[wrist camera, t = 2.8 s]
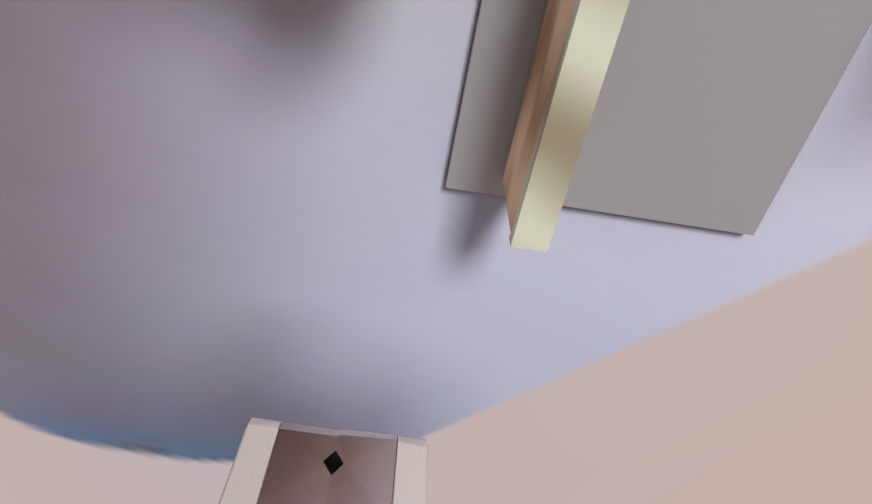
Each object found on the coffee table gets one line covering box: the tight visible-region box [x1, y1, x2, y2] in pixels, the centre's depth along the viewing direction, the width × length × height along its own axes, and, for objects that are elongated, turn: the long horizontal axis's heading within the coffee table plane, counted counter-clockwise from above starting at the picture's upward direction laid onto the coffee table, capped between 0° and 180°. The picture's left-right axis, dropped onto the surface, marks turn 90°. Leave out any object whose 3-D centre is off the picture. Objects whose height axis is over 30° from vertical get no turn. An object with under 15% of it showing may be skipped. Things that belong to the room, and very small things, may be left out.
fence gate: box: [502, 0, 630, 252], centre depth 21 cm, size 12×1×5 cm, turn 171°
